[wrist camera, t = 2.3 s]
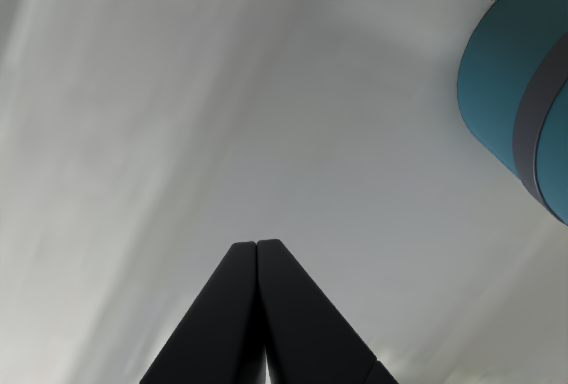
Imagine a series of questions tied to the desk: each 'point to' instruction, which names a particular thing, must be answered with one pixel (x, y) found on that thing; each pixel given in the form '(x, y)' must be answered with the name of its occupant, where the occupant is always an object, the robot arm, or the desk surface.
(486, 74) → the teal jar
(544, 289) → the desk surface
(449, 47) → the desk surface
